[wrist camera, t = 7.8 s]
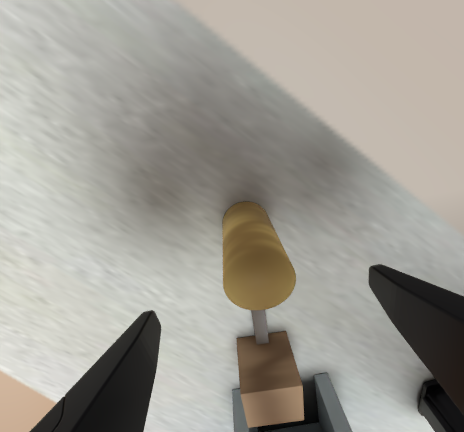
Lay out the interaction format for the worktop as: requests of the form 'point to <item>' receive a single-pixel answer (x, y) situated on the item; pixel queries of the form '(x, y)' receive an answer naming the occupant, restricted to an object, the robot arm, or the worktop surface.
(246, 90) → the worktop surface
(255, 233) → the block
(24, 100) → the worktop surface
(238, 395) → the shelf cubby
